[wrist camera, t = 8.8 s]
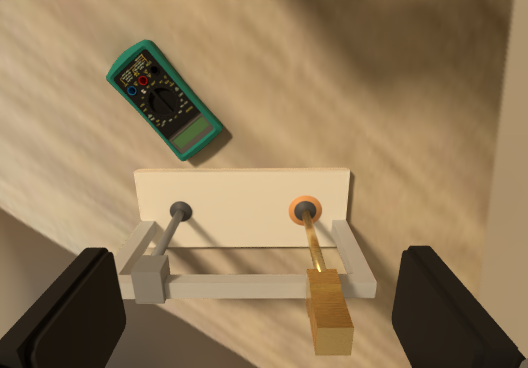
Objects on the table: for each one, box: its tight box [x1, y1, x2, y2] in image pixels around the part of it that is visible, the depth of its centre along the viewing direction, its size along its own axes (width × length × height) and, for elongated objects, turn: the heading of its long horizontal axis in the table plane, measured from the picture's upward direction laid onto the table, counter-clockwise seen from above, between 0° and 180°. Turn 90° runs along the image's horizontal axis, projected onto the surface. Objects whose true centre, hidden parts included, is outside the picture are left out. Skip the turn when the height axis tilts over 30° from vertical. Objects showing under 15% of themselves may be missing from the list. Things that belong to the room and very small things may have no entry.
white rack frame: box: [114, 168, 377, 304], centre depth 42 cm, size 12×30×17 cm, turn 90°
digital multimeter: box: [106, 40, 223, 161], centre depth 43 cm, size 7×15×3 cm, turn 39°
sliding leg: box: [301, 209, 354, 355], centre depth 38 cm, size 4×3×22 cm
